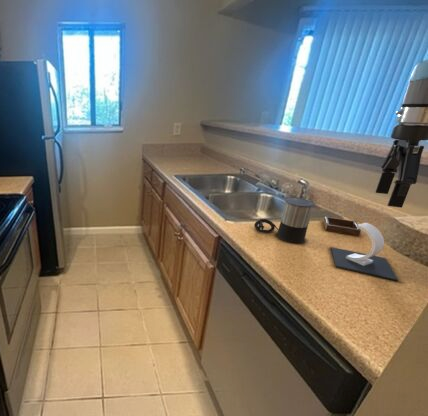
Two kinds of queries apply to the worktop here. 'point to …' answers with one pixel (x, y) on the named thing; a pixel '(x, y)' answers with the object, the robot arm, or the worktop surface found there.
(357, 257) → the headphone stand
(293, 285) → the worktop surface
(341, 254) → the mat
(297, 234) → the milk frother
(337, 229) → the tray
